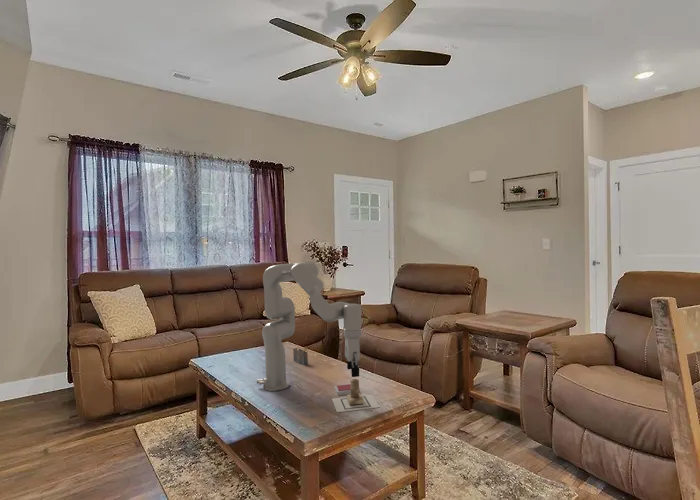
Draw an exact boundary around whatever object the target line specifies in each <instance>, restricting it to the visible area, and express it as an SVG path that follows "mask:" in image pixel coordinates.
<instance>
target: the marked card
mask: <svg viewBox="0 0 700 500" xmlns="http://www.w3.org/2000/svg"><path fill="white" fill-rule="evenodd" d="M361 395H362V397H363V399H364V403H363V405H355V406H350V405H349V402H348V400H347V396H345V397H335V398H331V400H332V403H333V406H334V408H335V410H336V413H338V414H339V413H344V412H345V413H346V412H353V411H363V410H370V409H371V410H372V409H379V408H380V405H379V404H378V402H377V401H376V399H375V397H374V396H373V393H372V394H364V395H363V394H361Z"/></svg>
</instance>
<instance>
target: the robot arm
mask: <svg viewBox="0 0 700 500" xmlns="http://www.w3.org/2000/svg"><path fill="white" fill-rule="evenodd" d="M318 275H319V269H318V266H317V265H316V264H315V263H314V262H311V261H307V262H291V263H280V264H275V265H271V266H269V267H268V268H266V269H265V270H264V272H263V275H262V283H263V289H264V290H263V291H264V292H263V293H264V299H263V301H264V314H265V315H264V316H265V317H266V318H267V319H269V320H274V321H271V322H268V323H266V324H265V325H263V327H262V331H261V335H262V339H263V345H264V355H265V361H264V363H265V377H264V378H262V379H261V378H260V379H256V384H257V385H262V388H263V390H266V391H268V392H269V391H270V392H279V391H282V390H285V389H287V388H289V387H290V381H288V380H287V372H286V371H287V369H286V368H287V367H286V350H285V349H286V348H285V345H284V344H283V342H282V340H284V339H287V338H290V337H291V336H293V335H294V334H295V333H294V332H295V330H296V314H295V313H296V311H295V310H296V308H295V304H294V302H293V300H292V299H291V298H290V297H287V296H283V288H282V286H281V285H280V283H286V282H291V281H295V282H296V283H297V284H298V285H299V286H300V288H301V289H302V290H303V291H304V292H305V293H306V294H307V295H308V296H309V302H310V305H311V308H312V309H313V311H314V313H316V314H317V315H318V316H319V317H320V319H322V320H323V321H324V322H327V323H332V322H336V321H339V320H343V338H344V343H345V344H344V357H345V359H346V366H347V367H346V369H347V370H351V371H350V372H351V373H350V374H351V377H352V378H357V377H358V378H359V377H360V363H359V362H360V360H361V359H360V357H361V353H360V352H361V349H360V348H361V346H360V338H361V337H362V307H361V305H360V304H358V303H349V302H346V301H336V302H332V303H330V302H328V301H327V300H326V299H325V298H324V296H323V295H322V294H321V292H322V290H323V289H324V286H325V285H324V282H323V281H322V280H321V279H320V278H319V277H318Z"/></svg>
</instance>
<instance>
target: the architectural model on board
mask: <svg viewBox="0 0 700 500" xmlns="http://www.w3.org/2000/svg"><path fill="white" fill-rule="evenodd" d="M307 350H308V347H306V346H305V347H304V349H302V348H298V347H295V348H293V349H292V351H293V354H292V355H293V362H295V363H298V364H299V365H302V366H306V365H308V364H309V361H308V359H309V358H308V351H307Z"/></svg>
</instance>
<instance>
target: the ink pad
mask: <svg viewBox="0 0 700 500" xmlns="http://www.w3.org/2000/svg"><path fill="white" fill-rule="evenodd" d="M334 391H335V393H336V396H343V395H344V396H345V395H350V394H351V384H350V383H348V384H339V385H334Z"/></svg>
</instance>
